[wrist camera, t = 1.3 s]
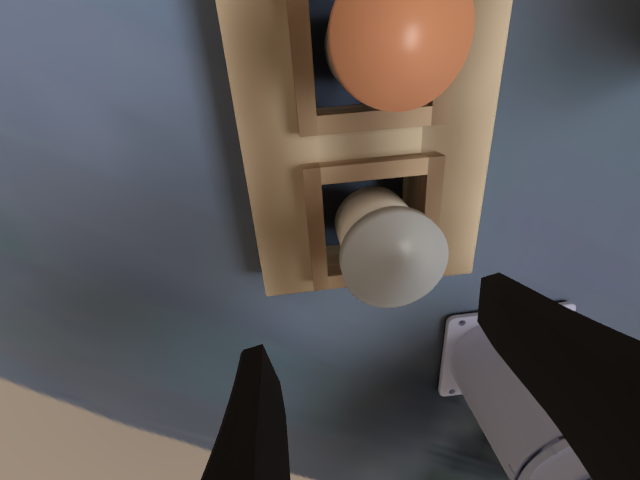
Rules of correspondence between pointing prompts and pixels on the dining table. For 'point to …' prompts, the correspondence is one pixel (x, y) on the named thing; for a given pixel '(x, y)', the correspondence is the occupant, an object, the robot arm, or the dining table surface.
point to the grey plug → (388, 248)
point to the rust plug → (398, 49)
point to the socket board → (352, 140)
